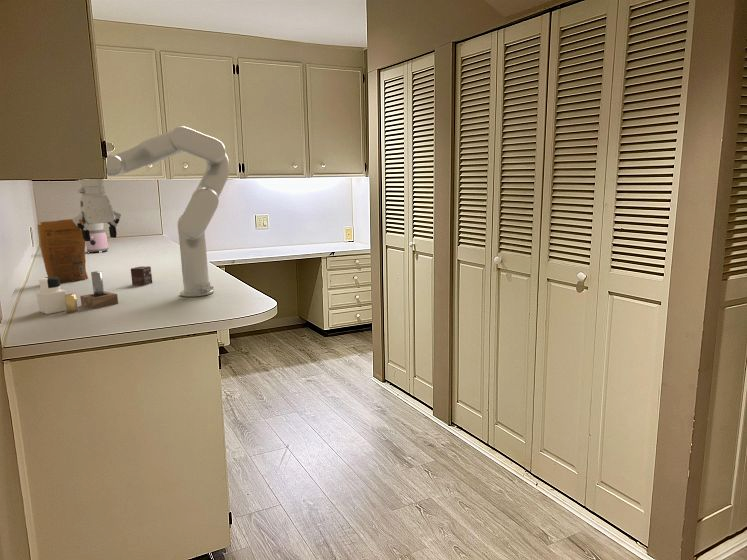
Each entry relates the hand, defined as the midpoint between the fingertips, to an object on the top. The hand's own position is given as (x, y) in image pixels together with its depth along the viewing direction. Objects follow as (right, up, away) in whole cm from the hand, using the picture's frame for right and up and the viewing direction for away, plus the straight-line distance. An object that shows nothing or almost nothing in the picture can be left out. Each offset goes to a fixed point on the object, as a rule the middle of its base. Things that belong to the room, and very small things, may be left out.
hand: (100, 239), depth 199 cm
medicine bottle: (-13, -26, -7) cm, 30 cm away
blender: (-76, +2, +148) cm, 166 cm away
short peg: (-5, -26, -9) cm, 28 cm away
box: (-1, -17, +38) cm, 42 cm away
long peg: (-1, -24, +1) cm, 24 cm away
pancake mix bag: (-39, -16, +49) cm, 64 cm away
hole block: (-1, -24, +1) cm, 24 cm away
